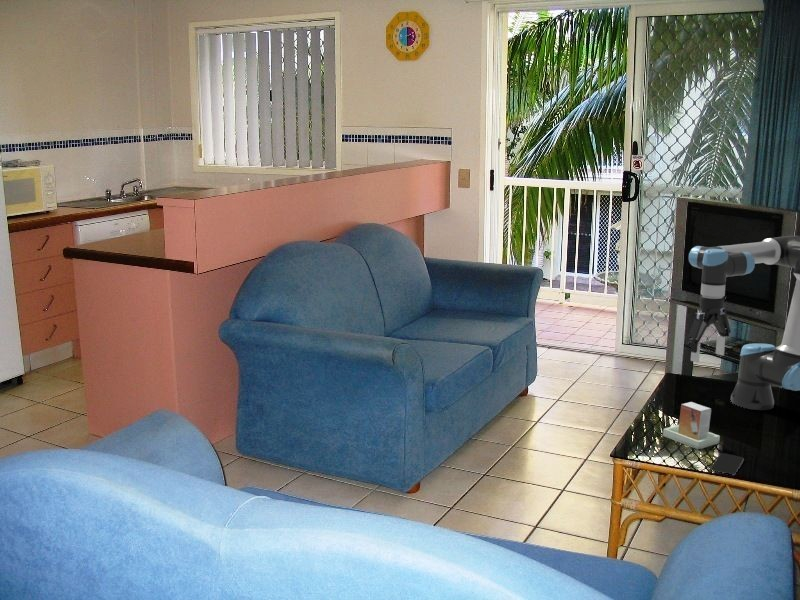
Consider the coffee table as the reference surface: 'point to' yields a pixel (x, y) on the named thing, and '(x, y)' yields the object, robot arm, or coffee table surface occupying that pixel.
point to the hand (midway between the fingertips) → (707, 358)
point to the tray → (674, 435)
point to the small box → (694, 421)
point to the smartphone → (727, 463)
